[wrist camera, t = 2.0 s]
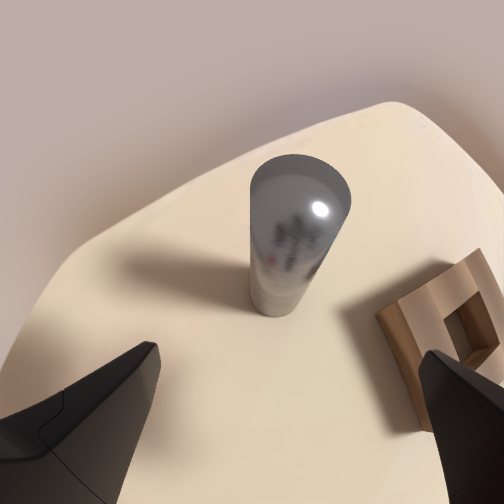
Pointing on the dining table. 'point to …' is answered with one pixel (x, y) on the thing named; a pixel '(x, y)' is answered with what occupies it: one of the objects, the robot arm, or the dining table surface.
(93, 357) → the dining table surface
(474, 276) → the block
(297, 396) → the dining table surface
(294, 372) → the dining table surface
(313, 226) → the steel pin
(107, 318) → the dining table surface
